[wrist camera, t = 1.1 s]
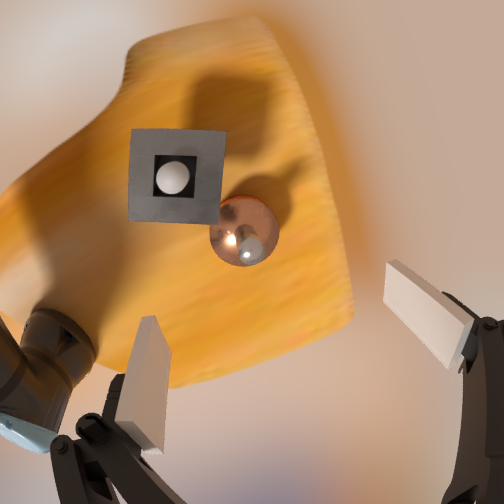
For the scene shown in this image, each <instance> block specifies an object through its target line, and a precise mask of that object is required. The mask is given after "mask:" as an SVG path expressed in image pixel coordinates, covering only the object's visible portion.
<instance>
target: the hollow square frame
mask: <svg viewBox="0 0 504 504" xmlns="http://www.w3.org/2000/svg"><path fill="white" fill-rule="evenodd" d="M226 136H227V131H213V130H196V129H132V130H131V142H130V158H129V185H128V219H129V221H135V222H163V223H186V224H207V225H218V224H219V211H220V199H221V187H222V176H223V165H224V155H225V145H226ZM159 155H184V156H197V163H196V176H195V191H194V194H182V193H175V194H168V193H157V192H158V184H157V181H156V177H157V173H158V170H159Z"/></svg>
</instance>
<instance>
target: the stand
mask: <svg viewBox="0 0 504 504" xmlns="http://www.w3.org/2000/svg"><path fill="white" fill-rule="evenodd" d="M196 163H197V156H184V155H159V170H158V173H157V177H156V181H157V184H158V192H157V193H168V194H175V193H182V194H194V191H195V176H196Z"/></svg>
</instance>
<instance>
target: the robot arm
mask: <svg viewBox="0 0 504 504" xmlns="http://www.w3.org/2000/svg"><path fill="white" fill-rule="evenodd" d="M383 302H384V303H385V304H386V305H387V306H388V307H389V308H390V309H391V310H392V311H393V312H394V313H395V314H396V315H397V316H398V317H399V318H400V319H401V320H402V321H403V322H404V323H405V324H406V325H407V326H408V327H409V328H410V329H411V330H412V331H413V332H414V333H415V335H416V336H417V337H418V338H419V339H420V340H421V341H422V342H423V343H424V344H425V345H426V346H427V347H428V348H429V350H430V351H431V352H432V353H433V354H434V355H435V356H436V357H437V358H438V359H439V360H440V362H441V363H442V364H443V365H444V366H445V367H446V368H447V369H448V368H450V367H451V366H453V365H455V364H456V363H457V362H458V360H459V358H460V355H461V354H462V355H463V356H464V360H463V362H462V364H461V366H460V368H459V371H458V373H460V371H461V370H462V368H463V404H462V419H461V430H460V438H459V446H458V452H457V458H456V464H455V469H454V474H453V478H452V481H451V484H450V486H449V487H448V489H447V490H446V492H445V494H444V496H443V499H442V503H441V504H474V502H475V501H476V504H504V320H501V321H497V320H495V319H493V318H491V317H483V318H480V317H479V316H477V315H476V314H475V313H474V312H472V311H471V310H470V309H469V308H467V307H466V306H465V305H463V304H462V303H461V302H460V301H458V300H457V299H456V298H455V297H453V296H452V295H450V294H448V293H445V292H440V291H439V290H438V289H436V288H435V287H434V286H432V285H431V284H430V283H428V282H427V281H426V280H424V279H423V278H422V277H420V276H419V275H417V274H416V273H415V272H414V271H412V270H411V269H409V268H408V267H407V266H405V265H404V264H402V263H401V262H399V261H398V260H393V261H389V262H387V263H386V278H385V288H384V298H383ZM171 354H172V353H171V351H170V349H169V347H168V344H167V342H166V340H165V338H164V335H163V333H162V331H161V328H160V326H159V324H158V321H157V319H156V317H155V315H154V316H148V317H142V319H141V322H140V325H139V328H138V332H137V335H136V338H135V342H134V345H133V349H132V352H131V356H130V359H129V363H128V366H127V370H126V374H117V375H116V376H115V378H114V379H113V380H112V381H111V384H110V387H109V393H108V394H107V400H106V401H105V406H104V409H103V413H102V417H101V416H100V415H99V414H96V413H88V414H85V415H83V416H82V417H81V418H80V419H79V420H78V422H77V423H76V434H77V435H78V436H79V437H81V438H82V439H78V440H71V438H70V437H69V436H67V435H59V436H58V431H59V428H60V425H61V422H62V419H63V416H64V413H65V410H66V407H67V404H68V401H69V398H70V396H71V393H72V390H73V389H74V388H75V387H76V385H77V384H79V383H80V381H81V380H82V379H83V378H84V377H86V376H87V375H88V374H89V373H90V371H91V369H92V366H93V364H94V361H95V352H94V348H93V346H92V343H91V341H90V340H89V338H88V336H87V335H86V334H85V332H84V331H83V330H82V329H81V328H80V327H79V326H78V325H77V324H76V323H75V322H74V321H72V320H71V319H70V318H68V317H67V316H65V315H63V314H62V313H60V312H57V311H54V310H51V309H39V310H36V311H35V312H34V313H33V314H32V315H31V316H30V317H29V319H28V320H27V321H26V323H25V327H24V332H23V335H22V338H21V342H20V346H19V345H18V344H17V343H16V341H15V339H14V338H13V337H12V335H11V333H10V332H9V330H8V328H7V327H6V325H5V323H4V322H3V320H2V318H1V316H0V435H2V436H3V437H5V438H6V439H8V440H9V441H11V442H13V443H14V444H16V445H18V446H20V447H22V448H25V449H27V450H29V451H32V452H35V453H40V454H45V453H48V452H50V454H51V461H52V467H53V472H54V478H55V483H56V487H57V491H58V496H59V499H60V503H61V504H120V503H119V501H118V498H117V496H116V493H115V491H114V488H113V486H112V483H113V485H114V486H115V487H116V489H117V490H118V492H119V493H120V494H121V495H122V497H123V498H124V500H125V501H126V502H127V504H187V503H186V502H185V501H183V500H182V499H181V498H180V497H179V496H178V495H177V494H176V493H175V492H174V491H173V490H172V489H171V488H170V487H169V486H168V485H167V484H166V483H165V482H164V481H163V480H162V479H161V478H160V477H159V475H158V474H157V473H156V472H155V471H154V470H153V469H152V468H151V467H150V465H148V463H147V462H146V461H145V460H144V458H142V457H141V449H143V451H145V452H146V453H147V454H164V435H165V418H166V404H167V392H168V382H169V372H170V362H171ZM111 482H112V483H111Z"/></svg>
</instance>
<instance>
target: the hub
mask: <svg viewBox="0 0 504 504" xmlns="http://www.w3.org/2000/svg"><path fill="white" fill-rule="evenodd" d="M278 238H279V226H278V222H277V219H276V217H275V215H274V214H273V213H272V211H271V210H270V209H269V208H268V207H267V206H266V205H265V204H264V203H263V202H262V201H260V200H258V199H256V198H254V197H251V196H235V197H232V198H229V199H227V200H225V201H224V202H222V203H221V204H220V211H219V224H218V225H210V242H211V245H212V247H213V250H214V251H215V253H216V254H217V255H218V256H219V257H220V258H221V259H222V260H224V261H225V262H227V263H229V264H231V265H235V266H251V265H255V264H258V263H260V262H261V261H263V260H265V259H266V258H267V257H268V256H269V255H270V254H271V253H272V252H273V250H274V249H275V247H276V245H277V242H278Z"/></svg>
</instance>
